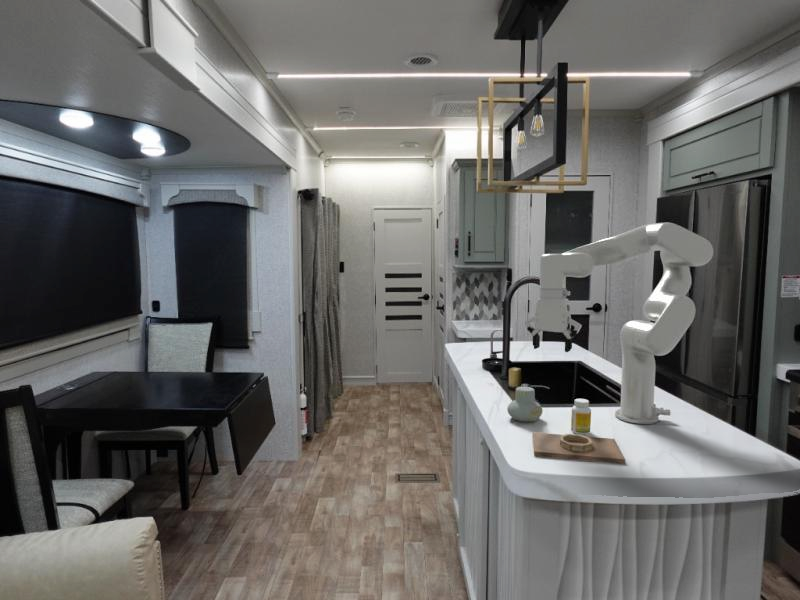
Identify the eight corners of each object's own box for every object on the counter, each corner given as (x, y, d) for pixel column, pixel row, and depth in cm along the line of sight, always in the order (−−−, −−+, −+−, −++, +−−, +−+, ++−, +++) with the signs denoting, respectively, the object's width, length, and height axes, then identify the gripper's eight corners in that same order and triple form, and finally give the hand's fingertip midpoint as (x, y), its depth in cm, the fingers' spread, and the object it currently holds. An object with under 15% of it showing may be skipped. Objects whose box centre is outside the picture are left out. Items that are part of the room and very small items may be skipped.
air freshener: (525, 426, 148) (525, 394, 148) (503, 419, 155) (503, 389, 154) (545, 418, 155) (546, 388, 154) (524, 412, 162) (524, 383, 161)
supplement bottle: (567, 430, 145) (567, 399, 144) (580, 427, 147) (581, 396, 146) (580, 436, 140) (582, 404, 139) (594, 433, 142) (595, 401, 141)
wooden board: (614, 442, 135) (614, 433, 135) (625, 463, 121) (625, 453, 121) (532, 436, 140) (532, 427, 140) (534, 455, 127) (534, 445, 126)
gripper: (585, 294, 145) (584, 350, 147) (530, 292, 155) (529, 345, 157) (577, 296, 139) (576, 355, 141) (520, 294, 149) (520, 348, 151)
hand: (551, 349), depth 149 cm, fingers open, 9 cm apart
